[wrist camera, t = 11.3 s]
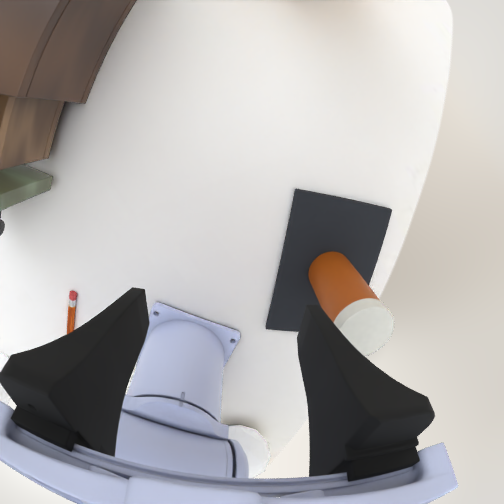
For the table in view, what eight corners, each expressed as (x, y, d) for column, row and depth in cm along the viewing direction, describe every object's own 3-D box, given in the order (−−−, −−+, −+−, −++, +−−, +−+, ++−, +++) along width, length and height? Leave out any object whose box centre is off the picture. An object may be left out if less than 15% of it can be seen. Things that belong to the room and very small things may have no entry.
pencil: (78, 292, 22) (75, 296, 22) (73, 392, 28) (71, 396, 28) (71, 289, 22) (68, 293, 22) (68, 389, 28) (66, 393, 28)
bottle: (336, 297, 23) (370, 362, 15) (298, 283, 22) (323, 351, 15) (359, 260, 22) (406, 316, 14) (321, 242, 21) (360, 299, 14)
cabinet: (85, 104, 16) (16, 97, 9) (-2, 86, 14) (-61, 86, 6) (163, -37, 12) (135, -90, 4) (58, -34, 9) (16, -61, 2)
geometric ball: (251, 417, 34) (274, 465, 29) (196, 435, 31) (218, 485, 27) (259, 412, 28) (288, 470, 23) (191, 435, 25) (219, 496, 21)
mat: (348, 331, 25) (349, 334, 25) (265, 326, 24) (265, 329, 24) (390, 208, 20) (392, 209, 20) (295, 188, 20) (296, 189, 19)
